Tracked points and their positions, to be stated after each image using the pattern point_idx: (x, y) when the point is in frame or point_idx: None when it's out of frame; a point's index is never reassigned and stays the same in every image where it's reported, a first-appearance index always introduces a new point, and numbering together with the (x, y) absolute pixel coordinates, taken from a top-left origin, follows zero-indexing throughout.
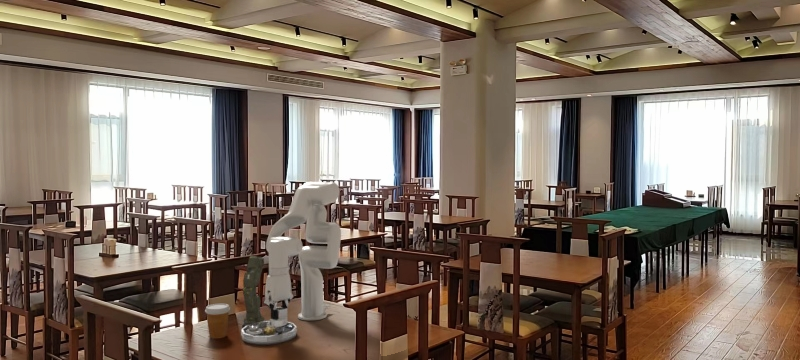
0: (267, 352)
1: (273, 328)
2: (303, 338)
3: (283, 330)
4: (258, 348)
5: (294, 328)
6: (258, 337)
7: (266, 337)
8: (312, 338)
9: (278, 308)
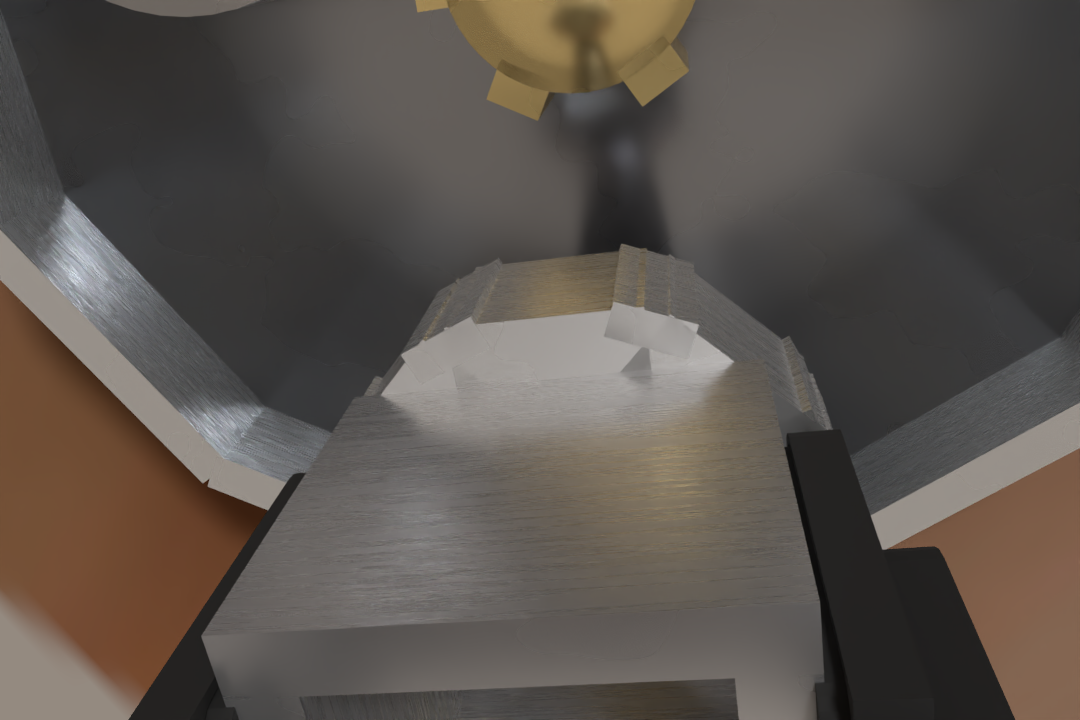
0: (121, 652)
1: (639, 72)
2: None
3: (975, 31)
4: (75, 424)
5: (992, 472)
6: (68, 329)
7: (195, 461)
8: (1054, 694)
9: (664, 641)
